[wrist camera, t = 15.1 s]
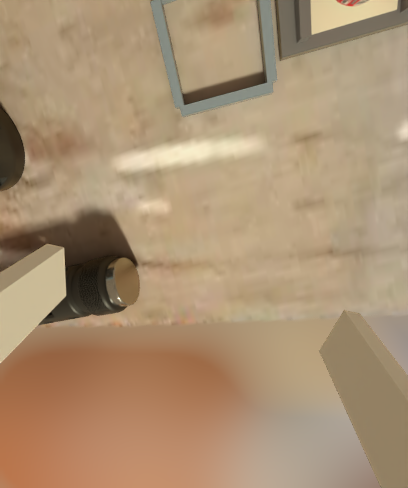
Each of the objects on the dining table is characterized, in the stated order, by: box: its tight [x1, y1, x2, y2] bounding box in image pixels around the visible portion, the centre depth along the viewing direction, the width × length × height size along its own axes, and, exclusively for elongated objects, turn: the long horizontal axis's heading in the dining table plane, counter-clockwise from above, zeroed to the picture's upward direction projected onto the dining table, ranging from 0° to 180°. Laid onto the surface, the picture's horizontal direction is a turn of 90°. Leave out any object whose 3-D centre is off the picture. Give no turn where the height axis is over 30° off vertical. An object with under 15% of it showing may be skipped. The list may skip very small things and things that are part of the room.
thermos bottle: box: [38, 256, 140, 325], centre depth 42 cm, size 10×28×10 cm, turn 105°
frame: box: [150, 0, 277, 117], centre depth 29 cm, size 13×13×2 cm
